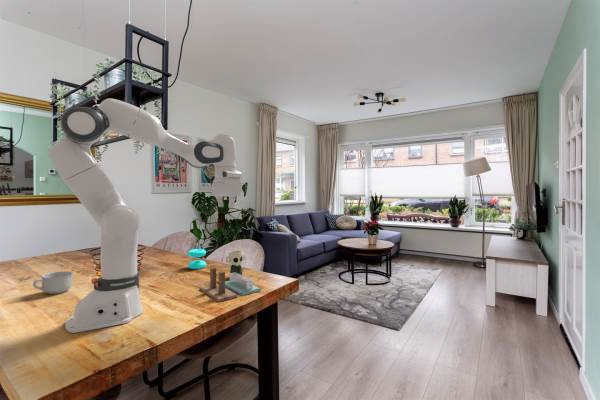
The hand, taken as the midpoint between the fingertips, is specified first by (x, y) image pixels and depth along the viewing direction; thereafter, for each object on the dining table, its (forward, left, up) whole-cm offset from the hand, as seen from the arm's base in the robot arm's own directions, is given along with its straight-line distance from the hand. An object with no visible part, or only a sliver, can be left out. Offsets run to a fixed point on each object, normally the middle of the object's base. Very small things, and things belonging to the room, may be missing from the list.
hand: (225, 207), depth 124 cm
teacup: (-56, +52, -37) cm, 85 cm away
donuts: (+8, +54, -37) cm, 66 cm away
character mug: (+16, +22, -37) cm, 46 cm away
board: (+9, +4, -37) cm, 38 cm away
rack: (-2, +4, -37) cm, 37 cm away
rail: (+9, +4, -36) cm, 37 cm away
